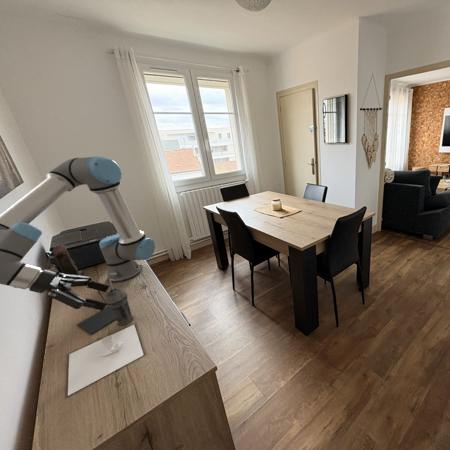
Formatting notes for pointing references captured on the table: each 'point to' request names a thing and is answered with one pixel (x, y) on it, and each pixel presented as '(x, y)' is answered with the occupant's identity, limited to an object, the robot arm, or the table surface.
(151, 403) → the table surface
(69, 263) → the statue
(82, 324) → the mat
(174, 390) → the table surface
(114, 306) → the beverage cup
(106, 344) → the teacup and saucer
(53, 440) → the table surface
